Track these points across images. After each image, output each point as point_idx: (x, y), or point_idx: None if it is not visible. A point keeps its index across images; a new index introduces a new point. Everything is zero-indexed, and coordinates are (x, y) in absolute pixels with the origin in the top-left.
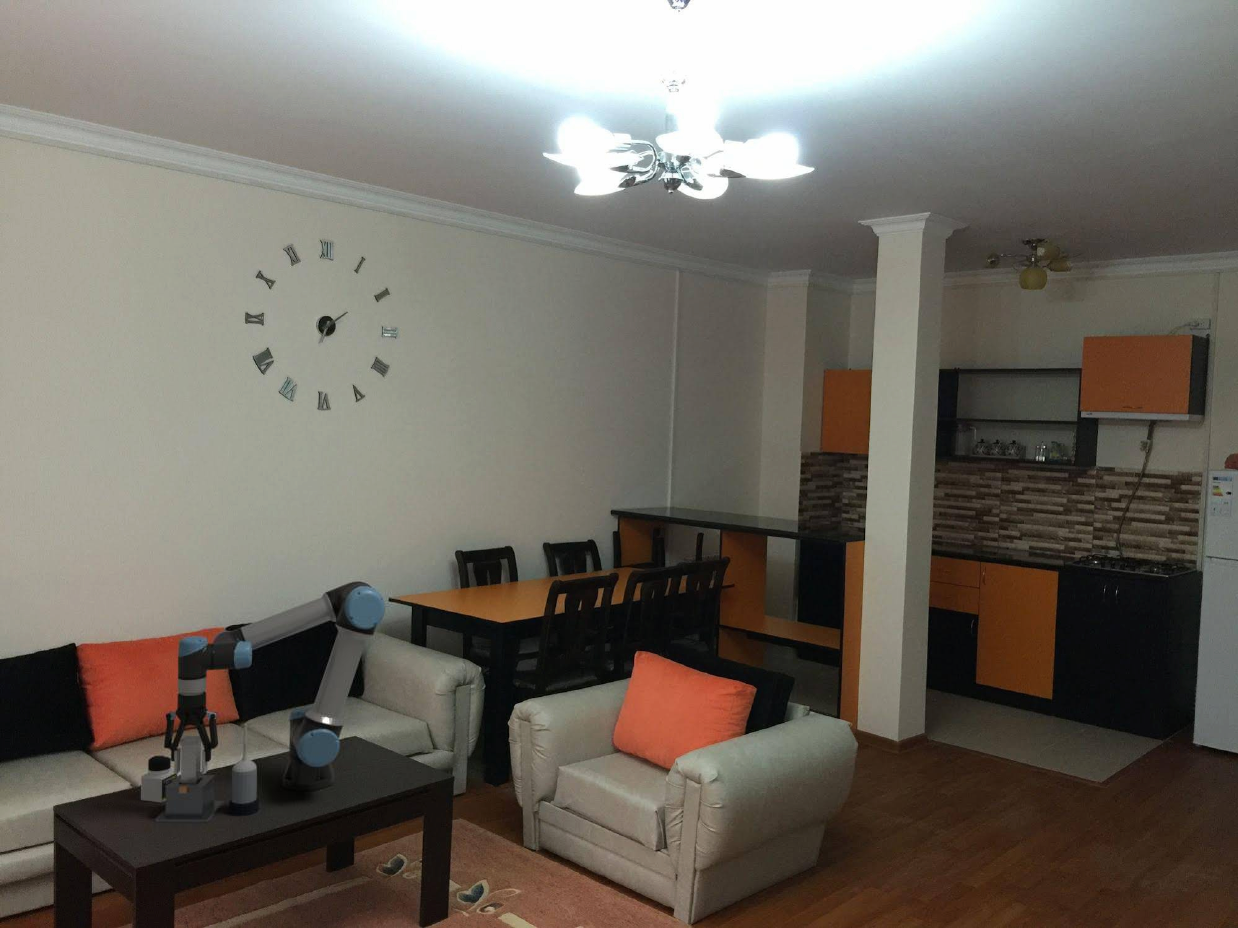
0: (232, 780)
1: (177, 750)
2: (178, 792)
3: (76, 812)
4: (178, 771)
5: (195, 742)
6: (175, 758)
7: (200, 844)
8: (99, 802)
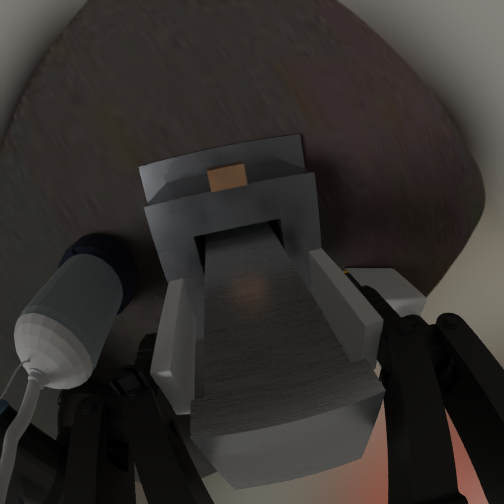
0: (81, 300)
1: (367, 337)
2: (253, 178)
3: (470, 178)
4: (312, 274)
5: (204, 420)
6: (351, 291)
7: (86, 34)
8: (453, 235)
